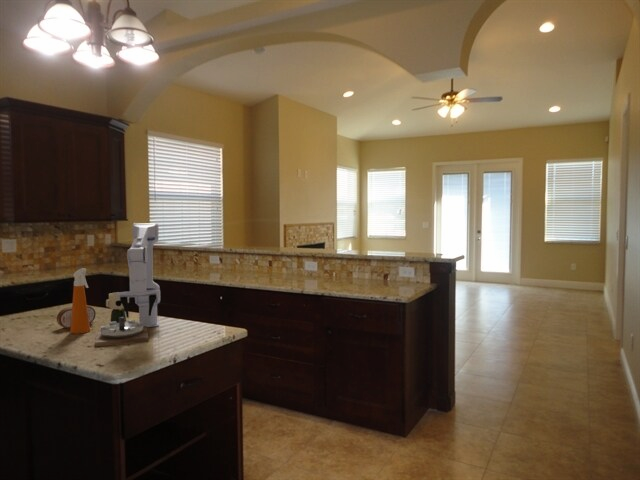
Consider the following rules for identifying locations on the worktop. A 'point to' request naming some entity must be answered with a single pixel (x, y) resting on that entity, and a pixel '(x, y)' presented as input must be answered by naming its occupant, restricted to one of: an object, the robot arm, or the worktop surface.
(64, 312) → the tin
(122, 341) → the base board
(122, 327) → the grey disc with blocks
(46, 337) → the worktop surface
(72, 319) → the spray bottle
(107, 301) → the character mug
